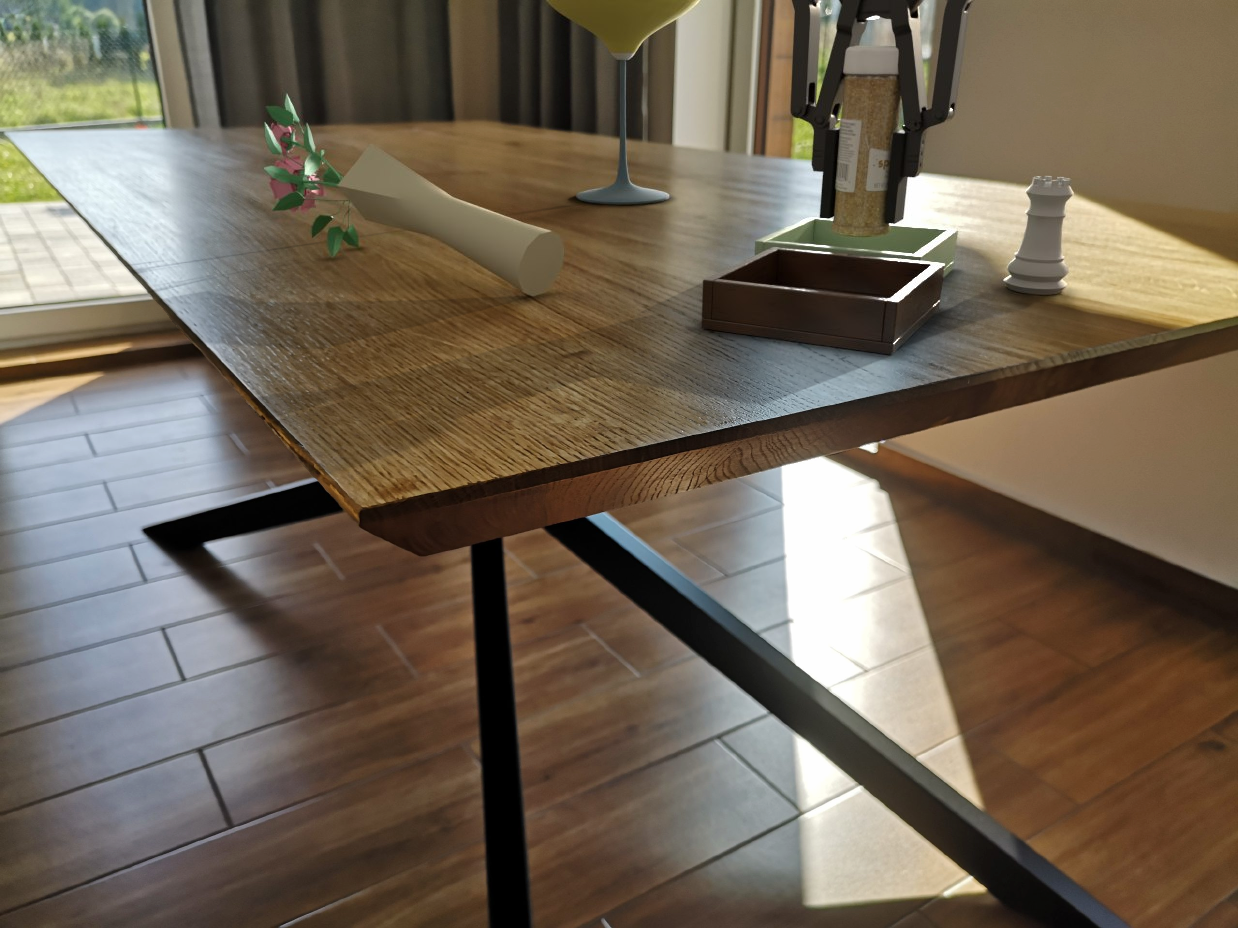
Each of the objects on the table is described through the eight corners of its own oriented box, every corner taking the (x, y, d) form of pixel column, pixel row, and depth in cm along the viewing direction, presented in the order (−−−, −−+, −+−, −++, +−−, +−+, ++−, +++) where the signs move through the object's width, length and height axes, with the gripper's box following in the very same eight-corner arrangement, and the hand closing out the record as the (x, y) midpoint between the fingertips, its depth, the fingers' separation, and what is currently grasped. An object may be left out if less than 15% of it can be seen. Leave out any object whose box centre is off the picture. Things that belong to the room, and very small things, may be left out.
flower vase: (494, 399, 76) (218, 241, 93) (601, 321, 83) (325, 186, 99) (475, 263, 68) (175, 116, 84) (596, 189, 75) (296, 66, 91)
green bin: (953, 269, 83) (958, 229, 82) (915, 301, 73) (921, 256, 72) (806, 254, 89) (809, 217, 87) (752, 283, 79) (755, 240, 77)
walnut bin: (939, 309, 71) (945, 263, 70) (892, 355, 61) (897, 302, 60) (770, 290, 76) (772, 246, 75) (701, 328, 66) (702, 279, 65)
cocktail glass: (536, 188, 126) (530, -38, 116) (680, 185, 129) (685, -36, 119) (555, 212, 110) (549, -49, 100) (718, 207, 113) (728, -47, 103)
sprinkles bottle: (892, 239, 77) (912, 46, 72) (830, 237, 78) (846, 46, 73) (887, 228, 81) (906, 45, 76) (828, 227, 82) (843, 45, 77)
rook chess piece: (1004, 280, 79) (1019, 173, 76) (1066, 285, 78) (1084, 176, 75) (1001, 292, 76) (1017, 180, 72) (1066, 297, 74) (1086, 183, 71)
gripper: (753, -127, 71) (737, 216, 80) (1017, -146, 63) (967, 236, 72) (790, -114, 77) (772, 203, 86) (1035, -131, 69) (987, 220, 78)
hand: (861, 218), depth 79 cm, fingers closed on sprinkles bottle, 4 cm apart
